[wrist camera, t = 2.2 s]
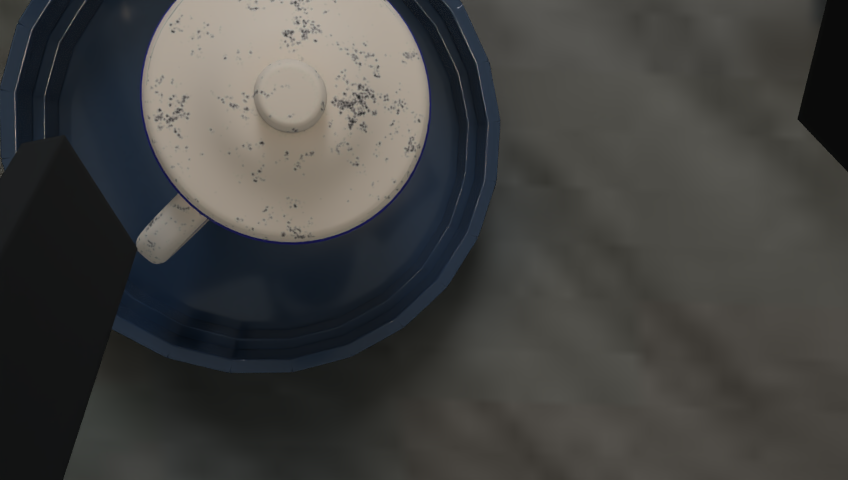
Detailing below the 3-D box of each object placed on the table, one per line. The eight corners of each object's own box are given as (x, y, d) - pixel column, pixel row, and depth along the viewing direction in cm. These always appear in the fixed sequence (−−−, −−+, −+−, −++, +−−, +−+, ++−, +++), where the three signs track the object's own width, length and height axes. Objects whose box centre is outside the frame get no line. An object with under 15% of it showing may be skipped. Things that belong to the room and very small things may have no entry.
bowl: (-19, 286, 28) (-61, 304, 25) (104, -162, 27) (78, -206, 24) (407, 392, 32) (419, 419, 29) (531, 8, 31) (559, -9, 28)
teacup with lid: (289, -35, 29) (284, -159, 17) (435, 118, 31) (516, 99, 19) (89, 164, 28) (-51, 171, 17) (250, 306, 30) (223, 399, 19)
